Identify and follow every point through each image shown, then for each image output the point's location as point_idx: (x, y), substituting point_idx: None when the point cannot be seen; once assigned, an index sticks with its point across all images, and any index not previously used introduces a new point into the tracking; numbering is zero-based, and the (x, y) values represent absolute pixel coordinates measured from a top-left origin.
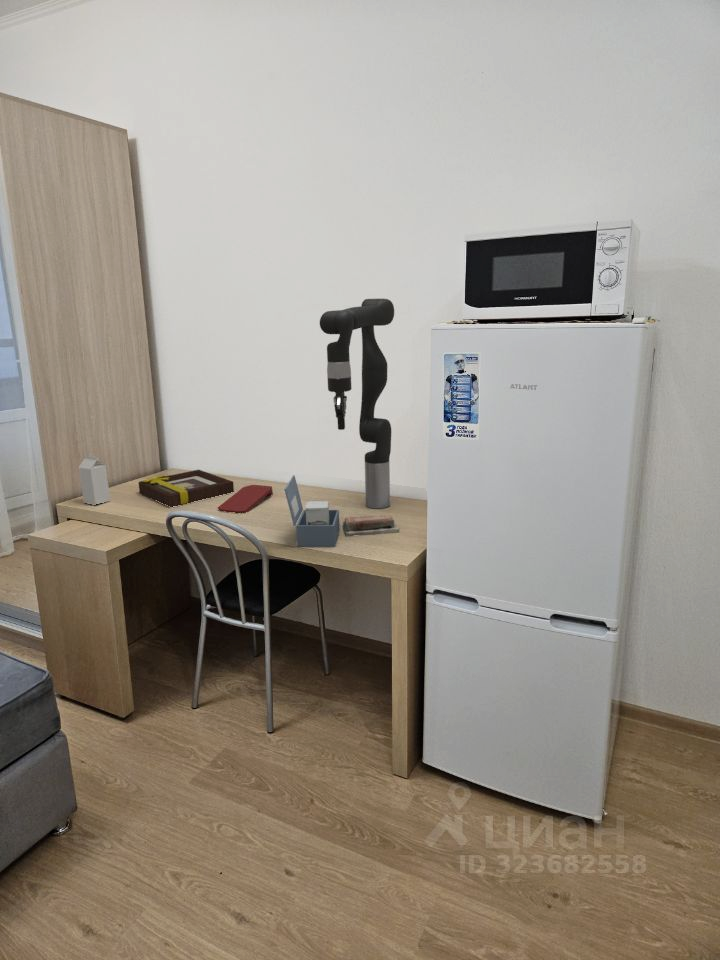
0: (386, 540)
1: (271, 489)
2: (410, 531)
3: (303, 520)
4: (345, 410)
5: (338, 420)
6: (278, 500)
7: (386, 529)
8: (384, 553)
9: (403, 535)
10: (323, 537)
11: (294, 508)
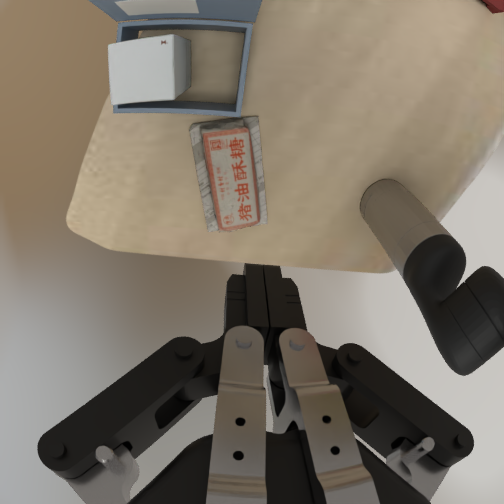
0: (164, 203)
1: (492, 6)
2: (212, 247)
3: (209, 26)
4: (356, 403)
5: (245, 318)
6: (461, 9)
7: (207, 208)
8: (101, 199)
9: (191, 234)
10: None
11: (142, 8)
